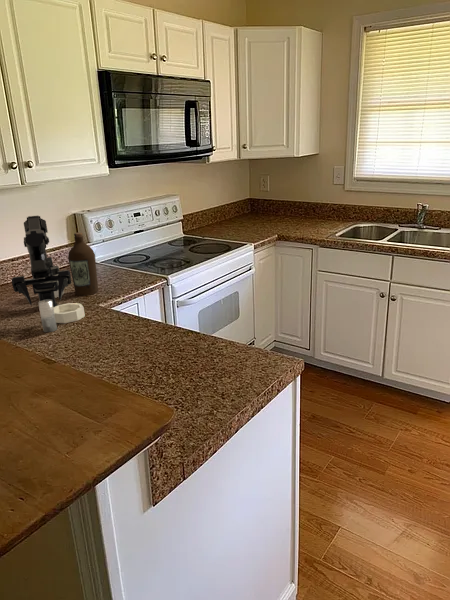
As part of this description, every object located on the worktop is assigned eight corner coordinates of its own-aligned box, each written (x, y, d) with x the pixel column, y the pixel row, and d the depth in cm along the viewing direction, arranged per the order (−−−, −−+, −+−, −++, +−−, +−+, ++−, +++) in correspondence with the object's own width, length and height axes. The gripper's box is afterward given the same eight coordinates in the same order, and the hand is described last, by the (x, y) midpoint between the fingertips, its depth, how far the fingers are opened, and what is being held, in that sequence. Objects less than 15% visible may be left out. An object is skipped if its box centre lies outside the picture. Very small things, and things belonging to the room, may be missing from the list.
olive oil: (79, 289, 206) (70, 231, 198) (103, 288, 205) (95, 230, 197) (70, 296, 196) (60, 236, 188) (95, 295, 195) (86, 235, 187)
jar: (44, 300, 193) (39, 271, 189) (39, 296, 199) (34, 268, 196) (66, 295, 197) (62, 267, 194) (61, 291, 204) (56, 264, 200)
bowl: (49, 316, 173) (47, 307, 172) (80, 310, 178) (78, 301, 177) (54, 325, 164) (53, 315, 163) (86, 318, 169) (85, 309, 168)
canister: (42, 329, 161) (37, 300, 158) (56, 326, 163) (51, 298, 160) (44, 333, 158) (39, 303, 154) (58, 330, 159) (53, 301, 156)
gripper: (6, 253, 156) (11, 294, 150) (65, 246, 162) (73, 285, 156) (12, 272, 166) (17, 311, 159) (67, 264, 172) (75, 302, 165)
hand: (45, 302), depth 160 cm, fingers open, 9 cm apart
